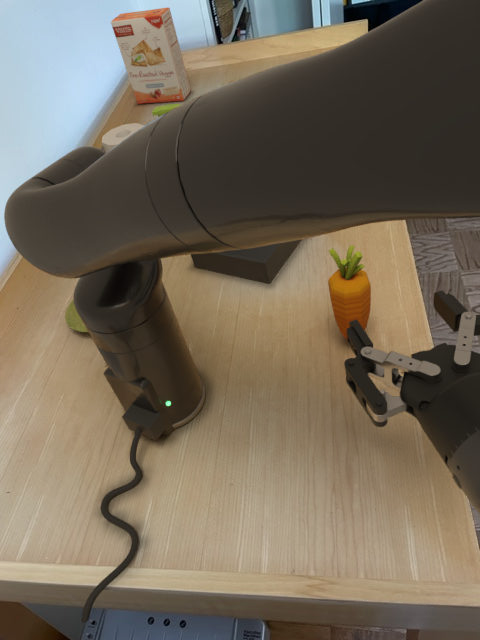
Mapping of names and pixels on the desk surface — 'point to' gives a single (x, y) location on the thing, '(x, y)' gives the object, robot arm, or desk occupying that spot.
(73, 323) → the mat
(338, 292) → the carrot
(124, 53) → the cracker box
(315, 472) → the desk surface
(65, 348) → the desk surface
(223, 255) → the drying rack
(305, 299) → the desk surface
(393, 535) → the desk surface
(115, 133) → the toilet tissue
